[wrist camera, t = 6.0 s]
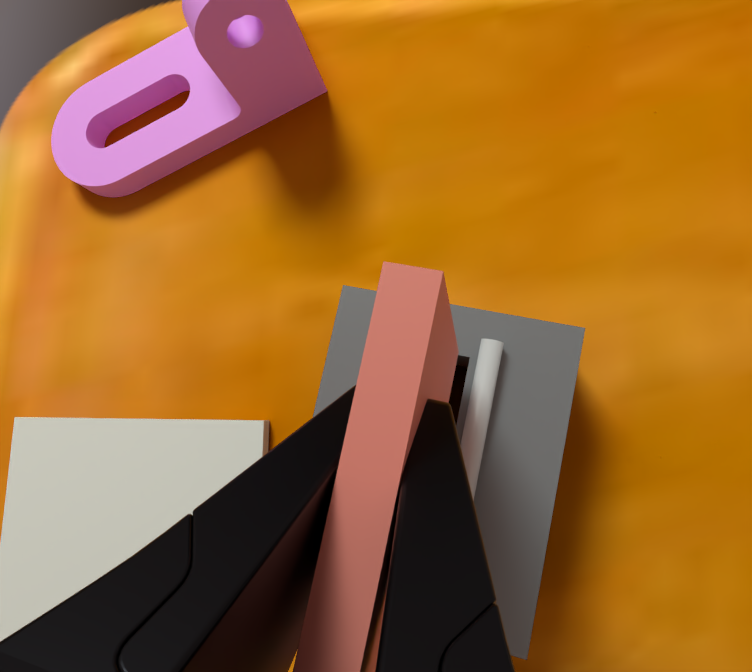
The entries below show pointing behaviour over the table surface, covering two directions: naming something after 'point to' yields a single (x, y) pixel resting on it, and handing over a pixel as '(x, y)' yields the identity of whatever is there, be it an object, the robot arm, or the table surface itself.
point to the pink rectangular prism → (376, 467)
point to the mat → (104, 497)
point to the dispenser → (493, 433)
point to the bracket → (206, 99)
